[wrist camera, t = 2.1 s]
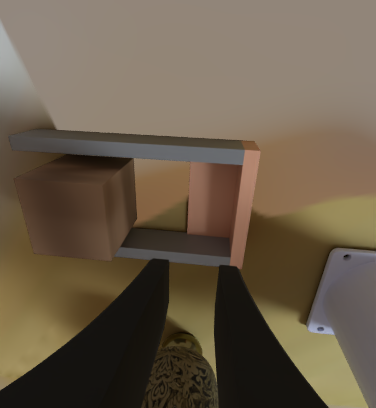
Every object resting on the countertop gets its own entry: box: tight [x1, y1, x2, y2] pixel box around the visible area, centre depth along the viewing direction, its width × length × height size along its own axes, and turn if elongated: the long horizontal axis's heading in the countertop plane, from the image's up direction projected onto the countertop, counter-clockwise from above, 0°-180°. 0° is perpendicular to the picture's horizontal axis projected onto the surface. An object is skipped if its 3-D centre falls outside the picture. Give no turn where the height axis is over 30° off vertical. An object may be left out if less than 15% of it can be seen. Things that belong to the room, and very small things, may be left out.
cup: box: [141, 333, 219, 408], centre depth 20 cm, size 8×7×8 cm
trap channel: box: [8, 129, 261, 269], centre depth 16 cm, size 14×8×2 cm, turn 88°
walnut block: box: [14, 154, 137, 261], centre depth 16 cm, size 4×4×5 cm
